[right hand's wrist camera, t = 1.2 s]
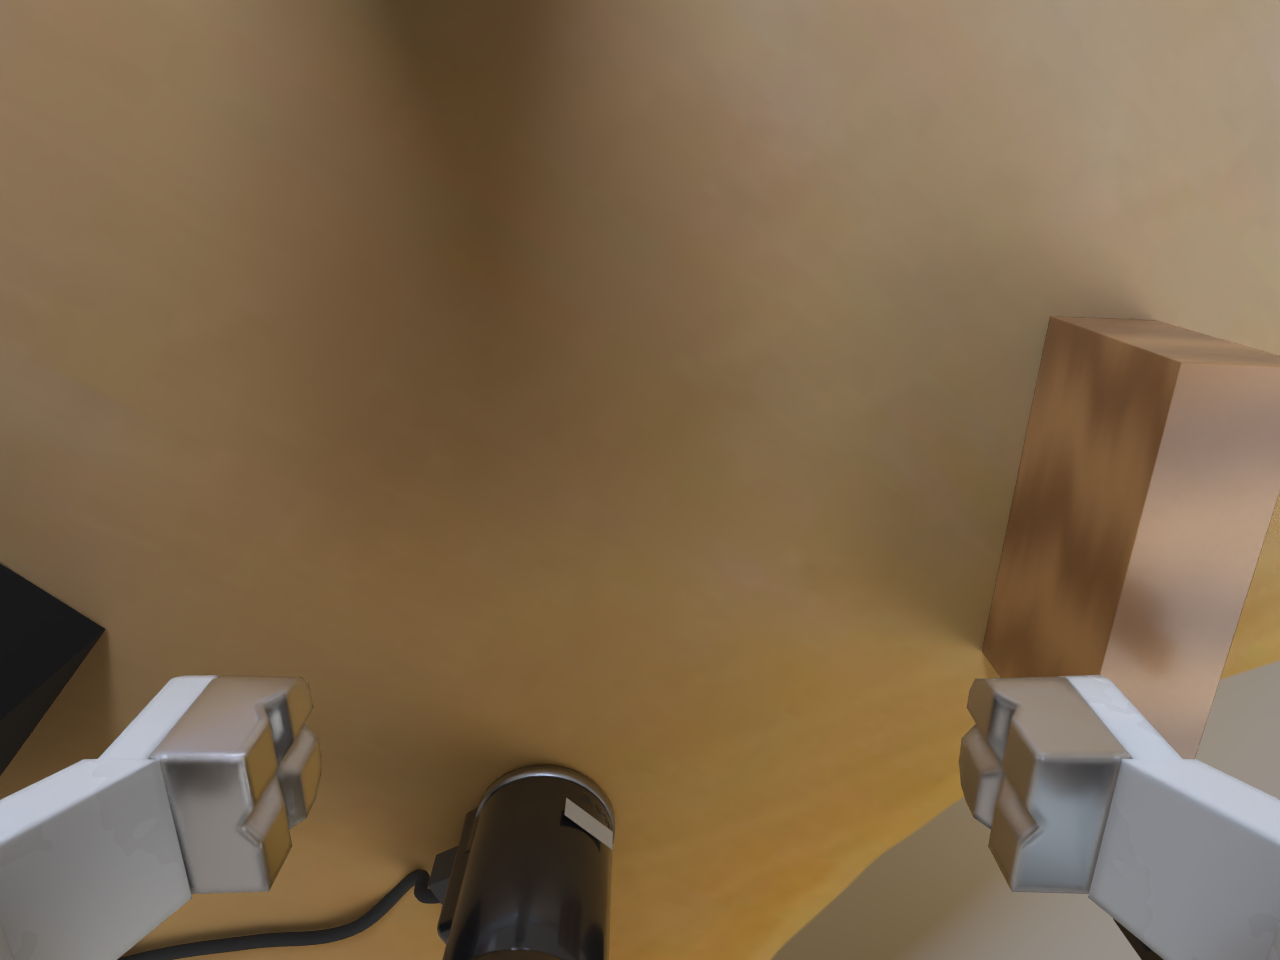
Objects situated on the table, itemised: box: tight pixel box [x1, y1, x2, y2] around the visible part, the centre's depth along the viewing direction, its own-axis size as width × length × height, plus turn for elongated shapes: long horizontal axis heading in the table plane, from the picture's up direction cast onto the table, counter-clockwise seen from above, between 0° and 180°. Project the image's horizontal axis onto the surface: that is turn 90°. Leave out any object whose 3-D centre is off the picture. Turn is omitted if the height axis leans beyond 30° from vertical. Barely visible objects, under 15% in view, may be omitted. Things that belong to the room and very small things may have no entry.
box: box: [982, 316, 1280, 759], centre depth 45 cm, size 21×6×12 cm, turn 178°
